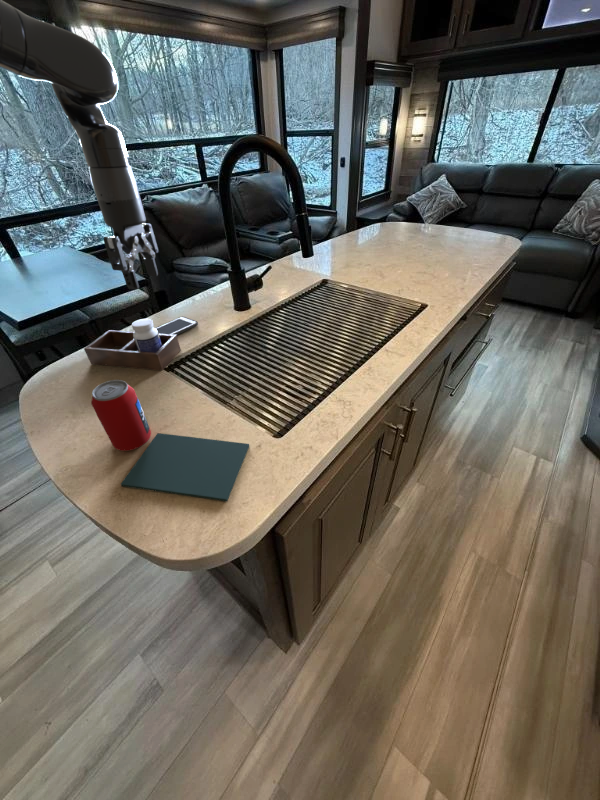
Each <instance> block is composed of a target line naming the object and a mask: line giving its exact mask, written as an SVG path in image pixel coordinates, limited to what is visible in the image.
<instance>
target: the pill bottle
mask: <svg viewBox="0 0 600 800" xmlns="http://www.w3.org/2000/svg"><path fill="white" fill-rule="evenodd" d="M131 328H132V330H133V332H134V333H133V337H134V340H135V342H136V345H137V348H138V351H140V352H152V353H156V352H157V351H158V350H159V349H160V348H161V347H162V343H161V340H160V337H159V334H158V331H157V329H155V328H156V327H154V322H153V319H150V318H141V319H137V320H135V321H133V322H132V323H131Z"/></svg>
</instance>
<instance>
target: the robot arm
mask: <svg viewBox="0 0 600 800" xmlns="http://www.w3.org/2000/svg"><path fill="white" fill-rule="evenodd" d="M0 69H2V70H4V71H7V72H10V73H12V74H15V75H16V76H18V77H22V78H24V79H27V80H32V81H41V82H42V81H43V82H47V83H48V82H49V83H51V86H52V87H51V88H52V89H53V91H54V94H55V96H56V99H57V100H58V102H59V104H60V106H61V108H62V110H63V112H64V114H65V116H66V117H67V119H68V122H69V123H70V125H71V127H72V129H73V130H74V131H75V134H76V136H77V137H78V139H79V143H80V147H81V148H82V152H83V156H84V158H85V162H86V164H87V167H88V171H89V175H90V181H91V185H92V188H93V190H94V193H95V197H96V200H97V203H98V206H99V208H100V212H101V214H102V218H103V221H104V224H105V225H107V226H108V227H110V228H111V229H112V231H113V236H104V237H103V242H104V246H105V249H106V252H107V255H108V259H109V263H110V265H111V266H110V267H111V268H112V270H113V271H119V272H121V273H122V275H123V279H124V282H125V285H126V287H127V288H128V290H138V289H140V285H139V281H138V278H137V275H136V271H135V270H134V264H135V263H134V262H135V261H136V260H137V255H138V254H140V255H141V257H143V262H144V266H145V269H146V273H147V275H148V276H149V277H158V275H159V271H158V268H157V263H156V260H155V259H156V254H159V247H158V244H157V239H156V236H155V234H154V229H153V226H152V224H151V223H146V222H147V217H146V214H145V210H144V207H143V203H142V199H141V195H140V191H139V188H138V184H137V180H136V176H135V175H134V172H133V169H132V166H131V161H130V158H129V154H128V151H127V148H126V144H125V140H124V137H123V135H122V132H121V131H120V130H119V128H117V127H116V126H114V125H112V124H110V123H108V121H107V120H106V118H105V116H104V114H103V113H104V112H103V111H102V109H101V107H100V105H104V104H107V103H109V102H112V101H113V100H114V99H115V97H116V96H117V93H118V90H119V81H118V76H117V73H116V70H115V68H114V66H113V64H112V62H111V61H110V59H109V58H108V57H107V56H106V54H105V53H104V52H103V51H102V50H101V49H100V48H99V47H97V45H95V44H94V43H93V42H91V41H90V40H88V39H87V38H84V37H83V36H81V35H79V34H76V33H74V32H73V31H70V30H67V29H64V28H62V27H59V26H57V25H54V24H52V23H49V22H47V21H43V20H40V19H37V18H34V17H32V16H30V15H27V14H26V13H24V12H23V11H21V10H19V9H18V8H17V7H15V6H13V5H11V4H9V3H8V2H6V1H4V0H0ZM116 258H117V259H118V262H117V259H116ZM126 261H127V262H126Z"/></svg>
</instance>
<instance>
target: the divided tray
mask: <svg viewBox="0 0 600 800" xmlns="http://www.w3.org/2000/svg"><path fill="white" fill-rule="evenodd" d="M134 332H135V331H131V330H114V329H108V330H107V331H105V332H104V333H103V334H102V335H100V336H99V337H97V338H96V339H94V340H93V341H92V342H91V343H89V344H88V345H87V346H85V347H84V348H83V350H84V352H85V355H86V356H87V358H88V361H89V363H90V365H95V366H96V365H97V366H106V367H107V366H108V367H118V368H119V367H121V368H130V369H141V370H153V371H164V370H165V368H166V367H167V366H168V365H169V364H170V363H171V362H172V360H174V359H175V358H176V356H177V355H178V354H179V353H180V352H181V351H182V349H181V346H180V342H179V338H178V335H171V334H159V337H160V340H161V343H162V347H161V348H160V349H159V350H158V351H157V352H156V353H152V352H140V351H138V348H137V345H136V342H135V340H134V337H133V333H134ZM116 347H119V348H120V347H121V348H120V349H115V348H116Z"/></svg>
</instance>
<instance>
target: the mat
mask: <svg viewBox="0 0 600 800" xmlns="http://www.w3.org/2000/svg"><path fill="white" fill-rule="evenodd" d="M249 448H250V443H246V442H237V441H228V440H219V439H212V438H211V439H210V438H203V437H194V436H187V435H179V434H178V435H177V434H169V433H163V432H161V433H160V432H157V433H156V434H155V436H154V437H153V439H152V440H151V441H150V442H149V444H148V445H147V447H146V448H145V450H144V451H143V452H142V453H141V455H140V457H139V458H138V459H137V461H136V462H135V463H134V465H133V466H132V468H131V469H130V471H129V472H128V473H127V474H126V476H125V477H124V478H123V480H122V481H121V482H120V486H121V487H124V488H130V489H137V490H144V491H150V492H158V493H165V494H171V495H179V496H185V497H190V498H191V497H192V498H198V499H199V498H200V499H205V500H214V501H220V502H227V503H228V500H229V498H230V495H231V493H232V491H233V488H234V486H235V483H236V481H237V478H238V476H239V473H240V471H241V468H242V465H243V463H244V460H245V459H246V456H247V453H248V450H249Z"/></svg>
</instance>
